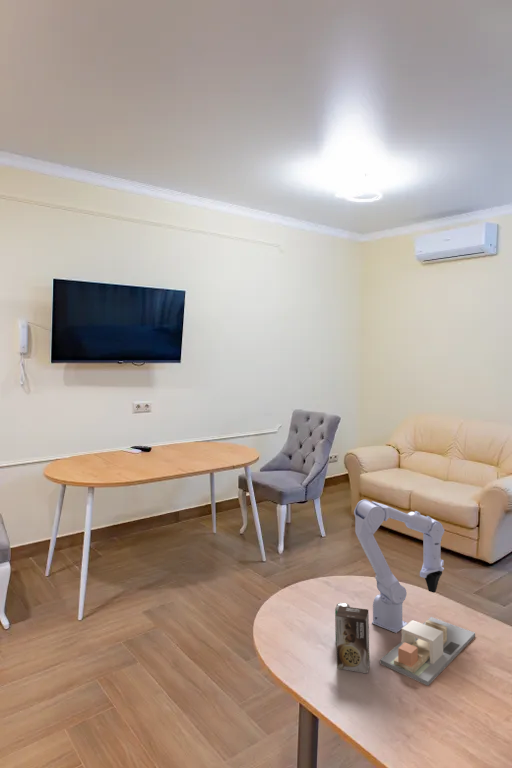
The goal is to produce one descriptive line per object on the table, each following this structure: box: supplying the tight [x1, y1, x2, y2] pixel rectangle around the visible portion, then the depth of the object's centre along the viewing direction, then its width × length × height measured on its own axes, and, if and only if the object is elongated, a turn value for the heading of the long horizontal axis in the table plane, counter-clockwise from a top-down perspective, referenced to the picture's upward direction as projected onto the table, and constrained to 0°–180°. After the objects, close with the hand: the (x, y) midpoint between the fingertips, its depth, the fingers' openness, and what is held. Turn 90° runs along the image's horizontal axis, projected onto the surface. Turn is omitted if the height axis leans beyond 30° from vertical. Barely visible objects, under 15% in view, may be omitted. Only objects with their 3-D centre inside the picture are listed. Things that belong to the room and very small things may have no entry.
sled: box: [394, 619, 447, 673], centre depth 150 cm, size 6×22×5 cm, turn 135°
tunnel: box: [401, 619, 443, 664], centre depth 151 cm, size 10×7×7 cm
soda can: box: [334, 602, 351, 643], centre depth 159 cm, size 5×5×12 cm
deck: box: [379, 616, 476, 686], centre depth 155 cm, size 15×34×1 cm, turn 135°
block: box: [398, 643, 418, 667], centre depth 144 cm, size 4×4×4 cm
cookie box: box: [335, 606, 371, 674], centre depth 147 cm, size 9×6×16 cm
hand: (432, 591), depth 173 cm, fingers closed
